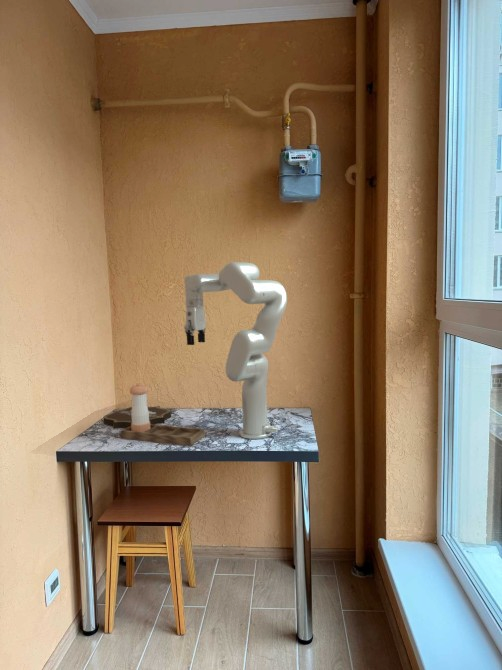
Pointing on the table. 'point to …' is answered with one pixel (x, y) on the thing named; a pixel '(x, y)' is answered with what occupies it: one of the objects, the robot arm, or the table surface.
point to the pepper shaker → (139, 408)
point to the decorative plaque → (125, 418)
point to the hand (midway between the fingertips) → (196, 343)
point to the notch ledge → (165, 434)
